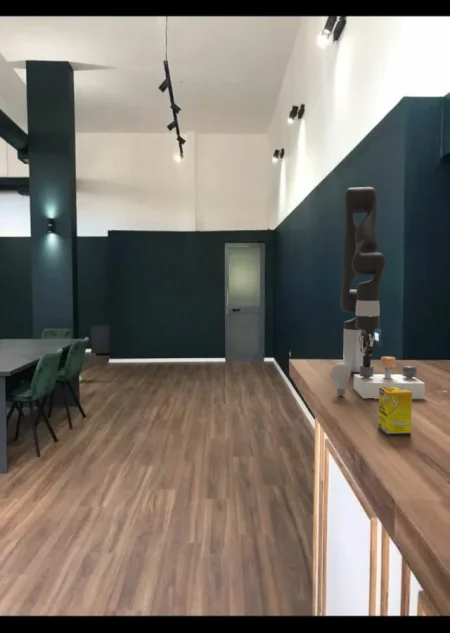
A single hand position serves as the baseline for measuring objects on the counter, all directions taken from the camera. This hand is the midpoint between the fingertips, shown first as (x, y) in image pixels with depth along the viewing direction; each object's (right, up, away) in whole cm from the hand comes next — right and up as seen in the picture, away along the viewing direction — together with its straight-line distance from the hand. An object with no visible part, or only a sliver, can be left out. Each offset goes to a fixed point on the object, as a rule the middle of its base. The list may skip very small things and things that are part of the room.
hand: (366, 366), depth 161 cm
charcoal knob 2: (+14, -8, 0) cm, 16 cm away
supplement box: (-5, -13, -40) cm, 42 cm away
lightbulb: (-9, -9, -3) cm, 13 cm away
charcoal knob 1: (0, -8, +1) cm, 8 cm away
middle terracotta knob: (+7, -5, 0) cm, 9 cm away
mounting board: (+7, -9, 0) cm, 11 cm away
